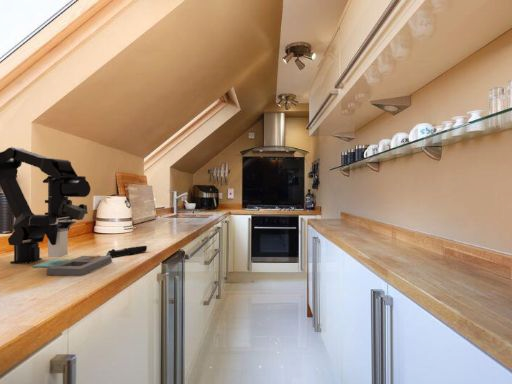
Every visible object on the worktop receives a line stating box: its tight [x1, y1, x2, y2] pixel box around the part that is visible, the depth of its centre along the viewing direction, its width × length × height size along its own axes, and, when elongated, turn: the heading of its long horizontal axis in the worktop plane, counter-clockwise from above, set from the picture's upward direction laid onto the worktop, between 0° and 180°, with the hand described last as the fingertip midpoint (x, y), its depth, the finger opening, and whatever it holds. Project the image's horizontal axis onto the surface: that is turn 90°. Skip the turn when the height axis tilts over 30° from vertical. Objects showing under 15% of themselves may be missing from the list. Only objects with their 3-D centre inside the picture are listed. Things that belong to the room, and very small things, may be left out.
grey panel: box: [46, 254, 113, 277], centre depth 99 cm, size 10×18×2 cm, turn 179°
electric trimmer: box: [105, 245, 148, 259], centre depth 121 cm, size 4×16×3 cm, turn 139°
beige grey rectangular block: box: [47, 228, 69, 258], centre depth 104 cm, size 4×4×9 cm
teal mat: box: [31, 258, 73, 269], centre depth 104 cm, size 10×10×1 cm
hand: (57, 243), depth 104 cm, fingers closed on beige grey rectangular block, 4 cm apart
